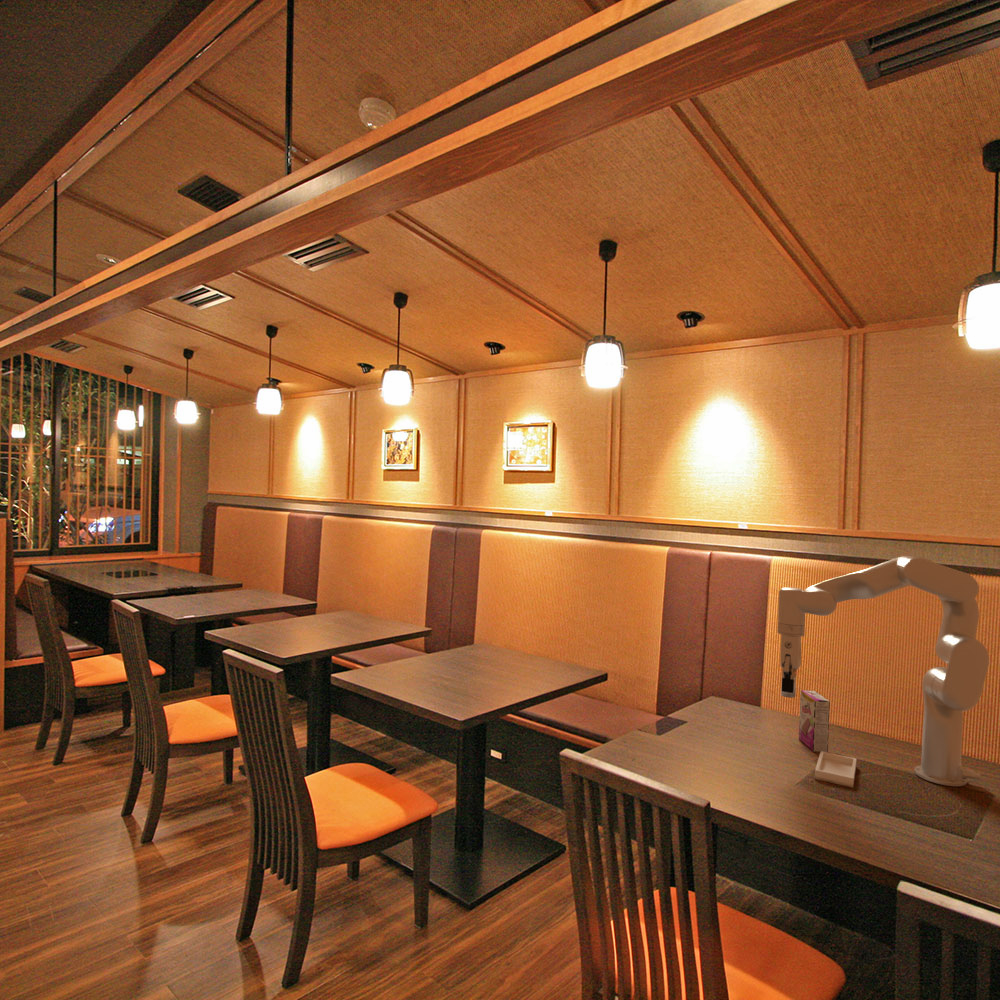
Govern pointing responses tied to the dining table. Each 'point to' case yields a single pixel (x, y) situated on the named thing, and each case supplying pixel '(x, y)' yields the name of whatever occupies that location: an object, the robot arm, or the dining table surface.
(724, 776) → the dining table surface
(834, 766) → the white rectangular tray
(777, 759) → the dining table surface
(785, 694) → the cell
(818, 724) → the candy bar box
